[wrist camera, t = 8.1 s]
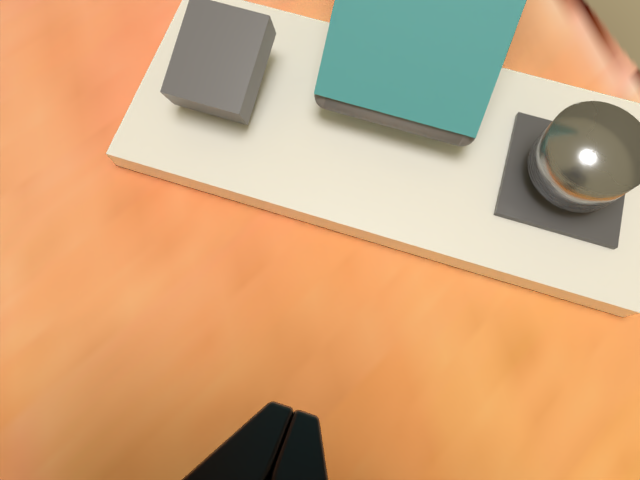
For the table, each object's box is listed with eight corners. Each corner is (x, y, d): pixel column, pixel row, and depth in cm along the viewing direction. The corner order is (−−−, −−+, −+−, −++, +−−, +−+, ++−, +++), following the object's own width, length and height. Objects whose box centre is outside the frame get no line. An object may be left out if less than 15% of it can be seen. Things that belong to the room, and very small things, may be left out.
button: (616, 224, 20) (647, 206, 18) (519, 197, 20) (540, 176, 18) (627, 141, 21) (659, 116, 19) (536, 116, 21) (557, 89, 19)
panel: (622, 317, 21) (645, 311, 20) (116, 165, 23) (103, 150, 22) (648, 123, 24) (669, 106, 22) (194, 4, 26) (187, -19, 25)
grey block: (247, 125, 22) (239, 114, 20) (174, 104, 22) (159, 92, 21) (276, 33, 22) (270, 15, 20) (202, 14, 22) (190, -6, 21)
